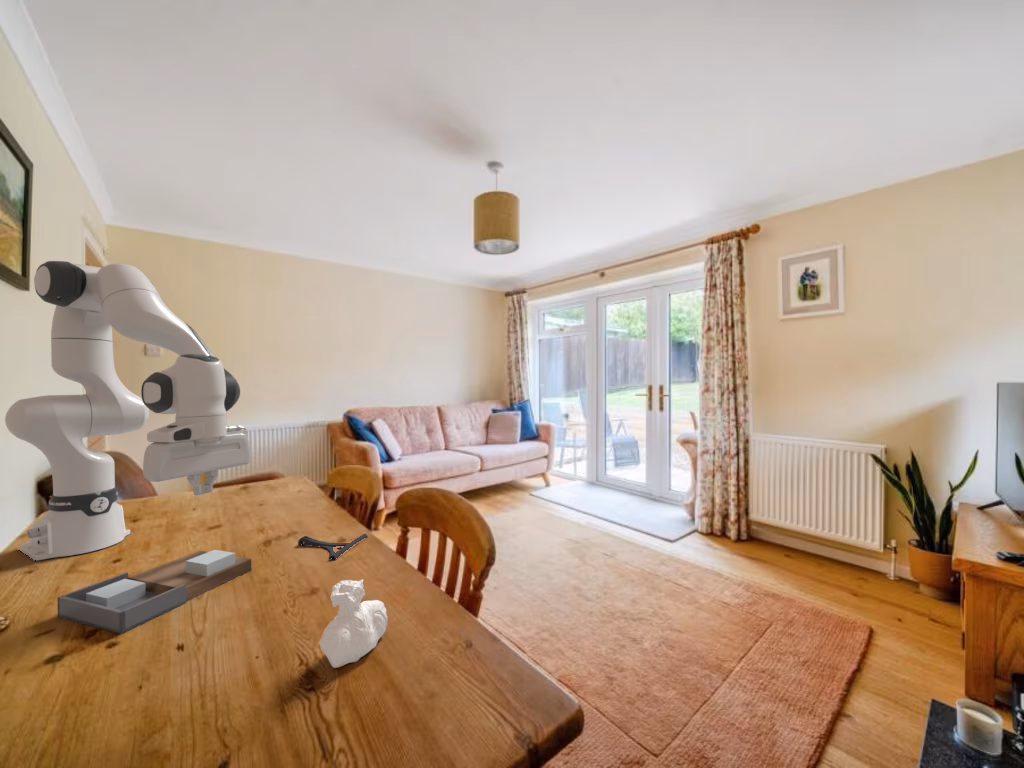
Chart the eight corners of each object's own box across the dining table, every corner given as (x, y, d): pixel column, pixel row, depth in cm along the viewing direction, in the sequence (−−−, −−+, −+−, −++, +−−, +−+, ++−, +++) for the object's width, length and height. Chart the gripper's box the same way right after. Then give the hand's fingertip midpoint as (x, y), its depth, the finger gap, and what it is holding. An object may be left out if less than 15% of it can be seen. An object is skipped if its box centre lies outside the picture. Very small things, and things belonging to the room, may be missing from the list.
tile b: (185, 572, 85) (185, 560, 85) (214, 560, 91) (214, 549, 91) (206, 576, 83) (206, 564, 83) (235, 564, 89) (234, 552, 89)
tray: (57, 616, 74) (57, 597, 74) (126, 589, 83) (125, 572, 83) (121, 634, 68) (120, 613, 68) (186, 602, 78) (186, 584, 78)
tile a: (85, 606, 76) (85, 593, 76) (125, 590, 82) (124, 578, 82) (107, 611, 74) (106, 598, 74) (145, 595, 80) (145, 582, 80)
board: (128, 589, 83) (128, 577, 83) (199, 561, 96) (199, 550, 96) (184, 602, 78) (184, 589, 78) (251, 570, 92) (251, 558, 92)
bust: (381, 641, 69) (351, 579, 72) (408, 622, 67) (376, 559, 70) (318, 688, 59) (286, 614, 62) (348, 669, 56) (313, 592, 59)
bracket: (317, 536, 113) (317, 526, 113) (367, 539, 111) (367, 529, 111) (279, 559, 99) (279, 547, 99) (335, 563, 96) (335, 551, 96)
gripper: (237, 424, 100) (238, 481, 100) (137, 434, 81) (138, 505, 80) (256, 424, 98) (258, 483, 98) (158, 435, 78) (159, 507, 78)
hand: (203, 493), depth 89 cm, fingers closed
